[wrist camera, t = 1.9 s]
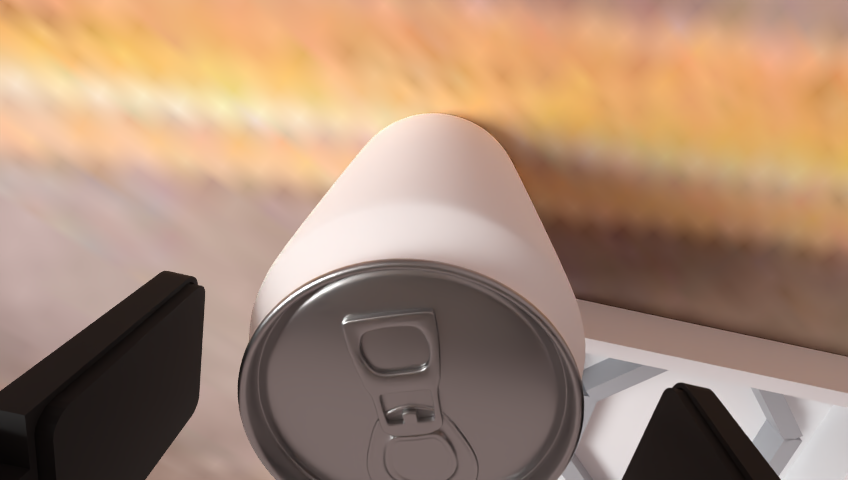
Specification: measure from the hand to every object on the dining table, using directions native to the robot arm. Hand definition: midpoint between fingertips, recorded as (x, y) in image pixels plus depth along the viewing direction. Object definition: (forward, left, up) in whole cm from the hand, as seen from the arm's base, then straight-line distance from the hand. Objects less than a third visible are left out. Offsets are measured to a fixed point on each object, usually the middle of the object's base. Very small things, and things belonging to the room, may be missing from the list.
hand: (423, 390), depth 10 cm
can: (-1, 0, -11) cm, 10 cm away
